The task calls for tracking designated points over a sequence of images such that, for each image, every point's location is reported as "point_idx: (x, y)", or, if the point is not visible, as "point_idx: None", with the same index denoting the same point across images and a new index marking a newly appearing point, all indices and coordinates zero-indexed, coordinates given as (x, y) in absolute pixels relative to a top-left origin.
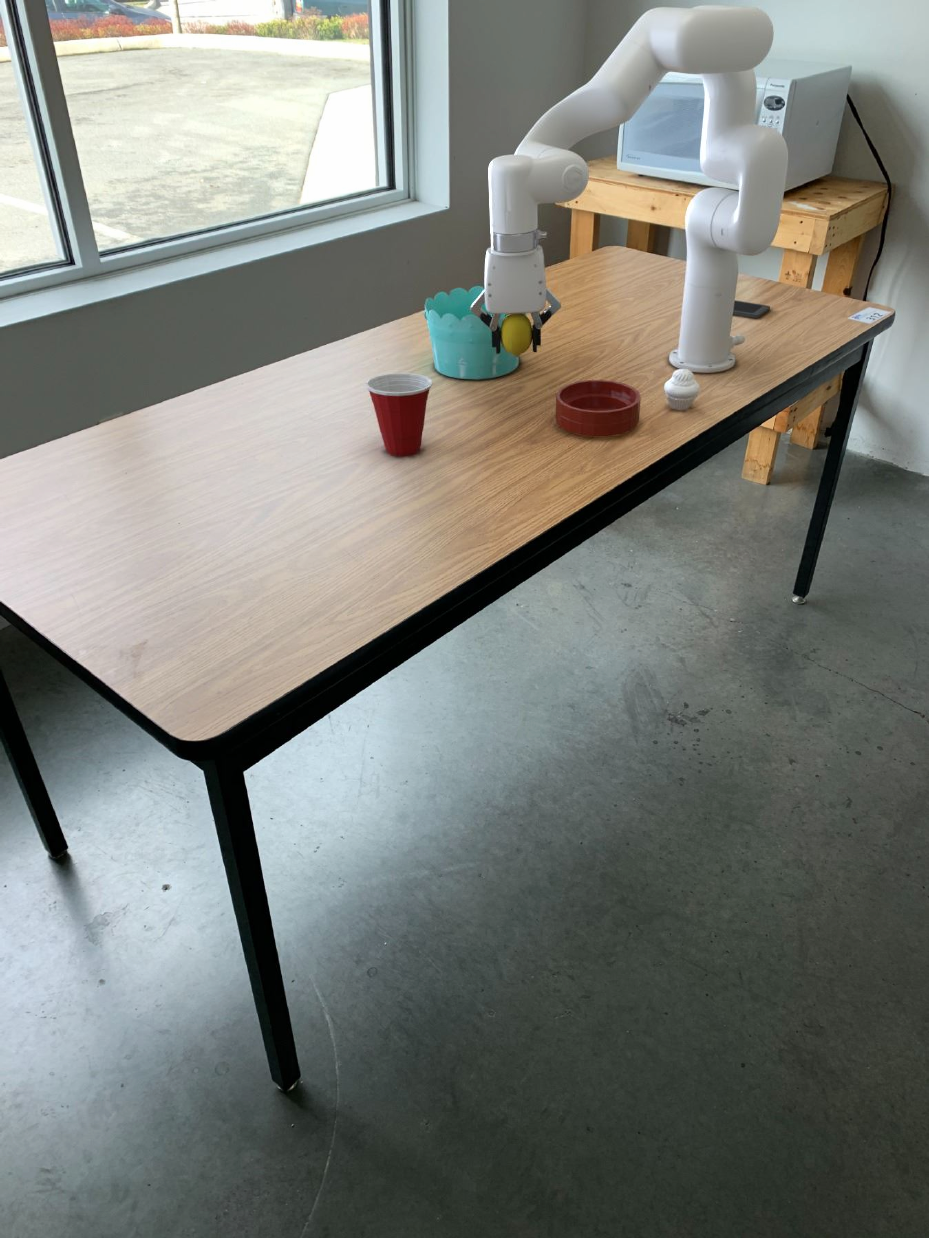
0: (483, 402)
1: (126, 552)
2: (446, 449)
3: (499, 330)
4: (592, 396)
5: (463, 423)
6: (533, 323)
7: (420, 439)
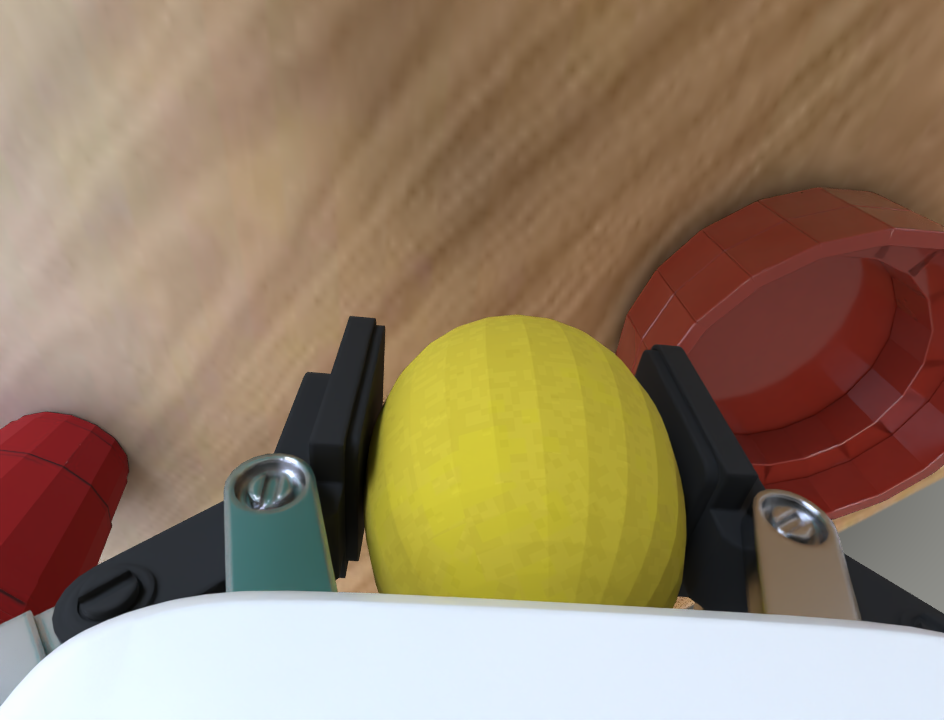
0: (321, 40)
1: None
2: (219, 462)
3: (354, 546)
4: (844, 255)
5: (247, 282)
6: (706, 566)
7: (116, 506)
